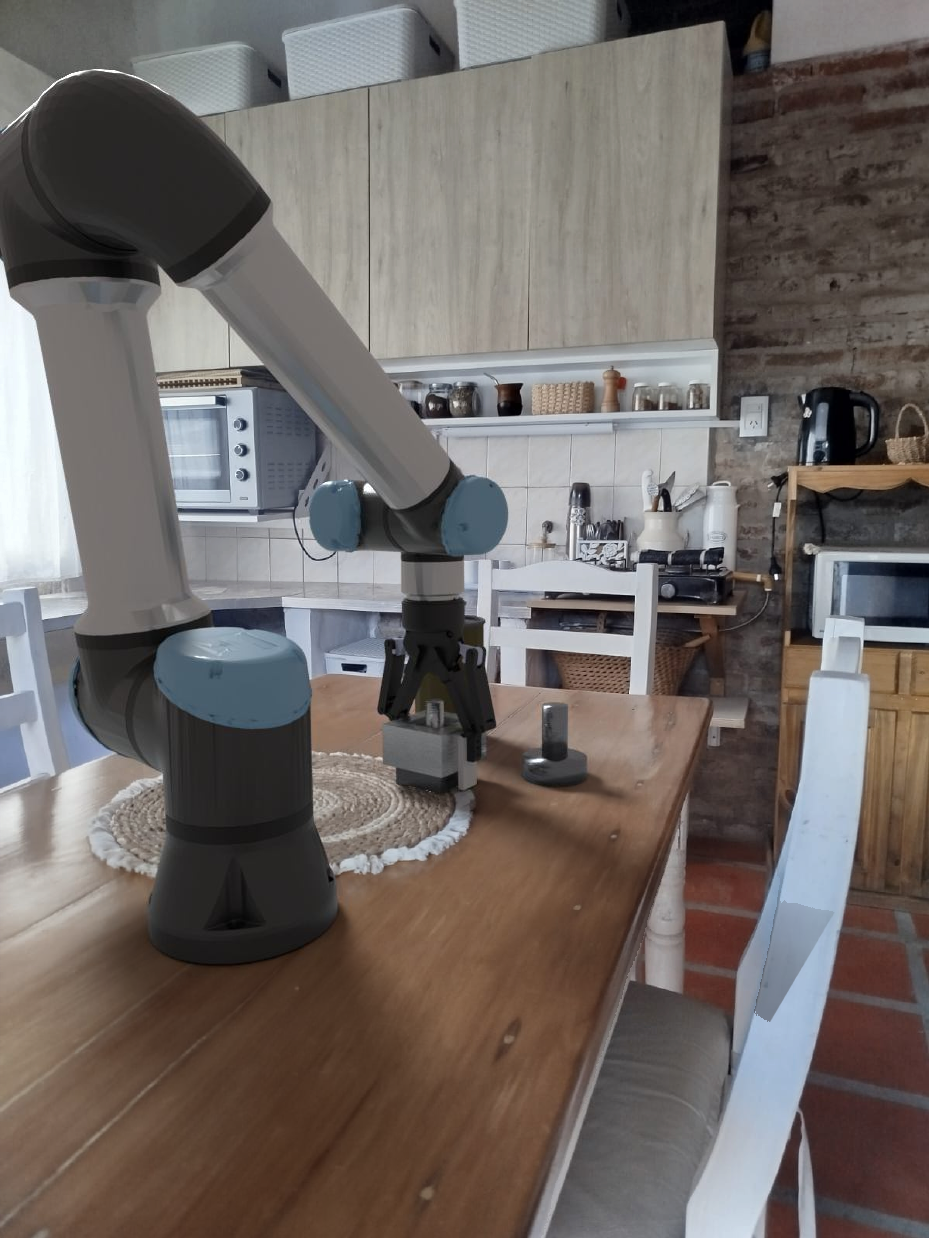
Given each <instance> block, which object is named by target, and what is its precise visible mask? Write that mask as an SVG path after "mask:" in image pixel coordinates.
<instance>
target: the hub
mask: <svg viewBox="0 0 929 1238" xmlns="http://www.w3.org/2000/svg"><path fill="white" fill-rule="evenodd" d="M568 743H569V704H567V703H564V702H557V701H555V702H554V701H553V702H551V701H549V702H545V703H542V704H541V747H537V748H532V749H529V750H527V751H524V752H523V754H522V755H521V756H522V759H521V761H522V769H521V772H522V778H523V779H524V780H525V781H526V782H529V783H531V784H534V785H538V786H542V787H543V786H544V787H552V788H553V787H559V788H560V787H570V786H571V787H572V786H576V785H579V784H581V783H584V782H585V781H586V780H587V779H588V755H586V753H585V752H582V751H580V750H578V749H572V748H568V747H569V744H568Z"/></svg>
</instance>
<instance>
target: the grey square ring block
mask: <svg viewBox="0 0 929 1238" xmlns="http://www.w3.org/2000/svg"><path fill="white" fill-rule="evenodd" d="M381 728H382V729H381V730H382V731H381V733H382V735H381V736H382V741H381V742H382V765H385V766H389V767H393V768H395V767H397V768H401V769H405V770H410V771H414V772H418V773H423V774H427V775H431V776H436V777H440V778H443V777H446V776H448V775H450V774H452V773H455V772H457V771H458V736H459V735H460V734H463V733H464V732H463V729H462V726H461V724H460V721H459V719H458V716H457V714H454V713H449V712H444V727H443V728H440V729H435V728H430V727H426V710H424V711H421V712H418V713H415V712H414V713H412V714H411V715H410V714H409V716H405V717H402V718H399V719H396V720H393V721H390V720H389V721H387V722H384V723H382V724H381ZM481 744H482V747H481V748H482V756H481V759H480V760H478V761H477V763H479V762H481V761H484V760H486V759H487V732H484V733H482V736H481Z"/></svg>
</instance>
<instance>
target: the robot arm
mask: <svg viewBox="0 0 929 1238" xmlns="http://www.w3.org/2000/svg"><path fill="white" fill-rule="evenodd" d="M273 218H274V202H273V201H272V199H271V198H270V196H269V195H268V194H267V192H266V191H265V190H264V189H263V187H262V186H261V184H260V183H259V181H257V179H256V178H255V177H254V176H253V174H252V173H251V172H250V171H249V170H248V168H247V167H246V165H245V164H244V163H243V162H242V161H241V159H240V157H238V156H237V154H236V153H235V152H234V151H233V150H232V149H231V148H230V146H228V144H227V143H226V142H224V140H223V139H222V138H221V137H220V136H219V135H218V134H217V133H216V132H215V131H214V130H213V129H212V128H211V127H210V126H208V124H206V123H205V121H203V120H202V119H201V118H200V117H199V116H198V115H197V114H196V113H195V112H193V111H192V110H191V109H189V107H187V106H186V105H184V104H183V103H182V102H181V101H179V100H178V99H176V98H175V97H174V96H172V95H171V94H169V93H167V92H165V91H164V90H163V89H162V88H159V87H158V86H157V85H155V84H152V83H151V82H148V81H146V80H145V79H142V78H140V77H137V76H135V75H130V74H128V73H125V72H121V71H117V70H109V69H88V70H82V71H77V72H73V73H70V74H68V75H66V76H64V77H63V78H61V79H59V80H56V82H54V83H53V84H52V85H51V86H50V87H49V88H47V89H46V90H45V91H44V92H43V93H42V94H41V95H40V97H39V98H38V99H37V100H36V101H35V102H34V103H33V104H32V105H31V106H30V107H28V108H27V109H26V110H25V111H24V112H23V113H22V114H21V115H19V117H17V119H15V120H14V121H12V122H11V123H10V124H8V125H6V126H3V127H2V128H1V129H0V261H1V262H2V263H3V268H4V272H5V277H6V283H7V289H8V293H9V296H10V298H11V299H12V300H13V301H15V302H16V303H17V304H19V305H20V307H22V308H23V309H24V310H26V311H27V312H28V313H29V314H31V315H32V316H33V319H34V320H35V325H36V329H37V330H36V331H37V335H38V340H39V341H38V342H39V346H40V352H41V355H42V356H41V358H42V362H43V367H44V372H45V377H46V384H47V389H48V394H49V398H50V399H49V400H50V404H51V410H52V415H53V421H54V426H55V431H56V437H57V442H58V447H59V454H60V459H61V464H62V469H63V474H64V479H65V485H66V486H65V487H66V490H67V495H68V502H69V507H70V511H71V512H70V513H71V517H72V523H73V528H74V532H75V533H74V534H75V539H76V543H77V544H76V545H77V550H78V554H79V556H78V557H79V560H80V565H81V570H82V576H83V582H84V586H85V591H86V597H87V598H86V599H87V607H86V609H85V610H84V611H83V612H82V614H81V616H80V617H79V618H78V619H77V620H76V622H75V623H74V624H73V632H74V637H75V642H76V648H77V649H76V650H77V654H78V655H77V658H76V660H75V661H74V662H73V664H72V666H71V669H70V673H69V678H68V685H67V686H68V687H67V688H68V698H69V703H70V706H71V709H72V712H73V715H74V717H75V718H76V720H77V722H78V723H79V725H80V726H81V727H82V729H83V730H84V731H86V733H87V734H88V735H90V736H91V738H93V739H94V741H96V742H97V743H98V744H100V745H101V746H103V748H104V749H106V750H108V751H111V752H114V753H116V754H117V756H121V757H123V758H127V759H132V760H135V761H137V762H139V763H141V764H143V765H145V766H147V767H150V768H152V769H153V770H155V771H158V772H159V773H162V784H163V800H164V801H163V802H164V817H165V839H164V844H163V847H162V851H161V853H160V858H159V862H158V866H157V871H156V874H155V878H154V883H153V886H152V887H153V888H152V890H151V893H150V895H149V897H148V901H147V909H146V910H147V911H146V913H147V916H146V917H147V930H148V932H147V933H148V937H149V940H150V942H151V943H152V945H153V946H154V947H155V948H156V949H157V950H158V951H161V952H162V953H163V954H166V955H167V956H169V957H171V958H175V959H178V960H181V961H185V962H190V963H196V964H205V965H206V964H209V965H228V964H229V965H230V964H240V963H241V964H242V963H248V962H256V961H260V960H264V959H269V958H273V957H277V956H280V955H283V954H285V953H288V952H292V951H293V950H296V949H297V948H300V947H303V946H304V945H307V944H309V943H311V942H312V941H313V940H316V938H319V936H320V935H322V934H323V933H324V932H326V930H328V929H329V928H330V926H331V925H332V924H333V922H334V921H335V920H336V917H337V915H338V909H339V904H338V903H339V902H338V882H337V879H336V875H335V872H334V870H333V869H332V868H331V865H330V862H329V858H328V855H327V851H326V850H325V846H324V843H323V841H322V838H321V837H320V834H319V831H318V828H317V825H316V821H315V816H314V814H315V813H314V787H313V783H314V782H313V781H314V780H313V754H312V753H313V752H312V748H313V747H312V746H313V745H312V712H311V711H312V710H311V709H312V707H311V706H312V705H311V704H312V703H311V702H312V698H313V688H312V685H311V680H310V671H309V666H308V660H307V657H306V654H305V652H304V650H303V649H302V648H301V647H300V646H299V644H298V643H296V642H295V641H293V640H292V639H290V638H288V637H286V636H283V635H282V634H278V633H275V632H272V631H267V630H262V629H245V628H243V627H233V626H231V627H229V626H222V627H220V626H219V627H215V626H214V623H213V622H214V621H213V614H212V610H211V605H210V604H208V603H207V602H206V601H204V600H203V599H202V598H201V597H199V596H197V595H196V594H195V593H193V591H192V589H191V588H190V582H189V575H188V567H187V563H186V555H185V549H184V544H183V538H182V532H181V525H180V519H179V512H178V506H177V505H178V504H177V498H176V494H175V487H174V479H173V473H172V468H171V461H170V455H169V449H168V442H167V436H166V430H165V429H166V428H165V425H164V424H165V423H164V416H163V411H162V406H161V405H162V404H161V398H160V393H159V392H160V391H159V387H158V386H159V384H158V380H157V373H156V367H155V361H154V354H153V348H152V342H151V341H152V340H151V337H150V336H151V335H150V334H151V333H150V330H149V322H148V316H147V315H148V312H149V310H150V309H151V308H152V306H153V305H154V304H155V303H156V302H157V300H158V299H159V298H160V296H161V295H162V286H161V278H160V274H159V273H160V271H159V268H161V269H162V270H163V272H164V273H165V274H166V275H167V276H168V277H169V279H171V281H173V283H174V284H175V285H176V286H177V287H180V288H185V289H187V288H188V289H194V290H195V289H196V290H197V291H199V292H200V294H201V295H202V296H203V298H205V299H206V300H207V302H209V304H210V305H211V306H212V308H214V309H215V311H216V312H217V313H218V314H219V315H220V316H221V318H222V319H223V320H224V321H225V322H226V323H227V325H228V326H229V327H230V328H231V329H232V330H233V331H234V333H236V335H237V336H238V338H240V339H241V340H242V341H243V343H244V344H245V345H246V346H247V347H248V348H249V350H251V351H252V353H253V354H254V355H255V356H256V357H257V358H258V360H259V361H260V362H261V363H262V364H263V365H264V366H265V368H266V369H267V370H268V371H269V372H270V374H272V376H273V377H275V379H276V380H277V382H279V384H281V386H282V387H283V388H284V389H285V390H286V392H287V393H288V394H289V395H290V396H291V397H292V398H293V399H294V401H295V402H296V403H297V404H298V405H299V406H300V408H301V409H302V410H303V411H304V412H305V414H307V415H308V417H309V418H310V419H311V420H312V421H313V422H314V423H315V425H316V426H318V428H319V429H320V430H321V431H322V433H323V434H324V435H325V436H326V438H328V440H330V442H331V443H332V444H333V445H334V446H335V447H336V449H337V450H338V451H339V452H340V454H342V456H343V457H344V458H345V459H346V460H347V462H349V463H350V464H351V466H352V467H353V468H354V469H355V470H356V471H357V472H358V473H359V475H360V477H362V478H363V479H364V480H353V479H343V480H330V481H326V482H323V483H321V484H320V485H319V486H318V487H317V488H316V490H315V491H314V493H313V494H312V496H311V499H310V502H309V506H308V512H309V520H308V522H309V526H310V531H311V533H312V534H311V535H313V537H314V540H315V541H316V543H317V544H318V545H319V546H320V547H321V548H323V549H325V550H326V551H329V552H345V553H350V554H351V553H354V552H358V551H359V552H362V551H364V552H365V551H369V552H370V551H371V552H373V551H374V552H375V551H376V552H388V553H389V552H390V553H393V552H394V553H400V592H401V593H402V594H403V595H405V596H406V597H405V598H403V600H401V626H402V628H403V629H404V630H405V633H404V637H403V636H395V637H392V638H387V639H385V640H384V642H383V644H384V654H385V656H384V657H385V658H384V665H383V672H382V677H381V685H380V690H379V696H378V702H377V703H378V704H377V708H376V710H377V714H379V715H380V716H382V715H384V716H385V717H387V718H388V720H389V722H390V721H393V720H396V719H399V718H402V717H405V716H409V715H412V714H411V713H410V711H411V708H412V706H413V704H414V703H415V697H416V695H417V692H418V690H419V687H420V685H421V683H422V680H423V678H424V676H425V675H426V674H427V673H431V674H433V675H437V676H439V679H440V681H441V682H442V683H443V684H445V686H446V689H447V691H448V694H449V696H450V699H451V701H452V704H453V706H454V709H455V711H456V714H457V716H458V719H459V721H460V724H461V726H462V729H463V732H464V733H463V734H460V735H459V736H458V790H461V791H465V790H467V789H469V788H471V787H474V786H476V785H477V782H478V781H477V778H478V777H477V775H478V774H477V773H478V771H477V769H478V768H477V767H478V765H477V763H478V762H477V761H478V760H480V759H481V756H482V748H481V747H482V744H481V736H482V733H484V732H486V733H487V732H488V731H491V730H494V729H496V727H497V719H496V713H495V709H494V705H493V699H492V695H491V689H490V684H489V679H488V678H489V677H488V673H487V668H486V661H487V660H486V659H487V648H486V647H485V645H484V646H478V647H473V646H469V645H466V644H465V641H464V639H463V636H462V632H463V628H464V626H465V615H466V612H465V611H466V609H465V607H466V605H465V601H466V600H464V598H463V597H461V596H460V595H462V594H463V593H464V592H465V556H479V555H480V556H481V555H484V554H488V553H489V552H491V551H493V550H494V549H496V547H498V545H499V544H500V542H501V541H502V540H503V537H504V536H505V534H506V530H507V528H508V523H509V508H508V507H509V506H508V501H507V498H506V495H505V493H504V492H503V490H502V488H501V487H500V486H499V484H498V483H497V482H495V481H493V480H491V479H490V478H488V477H483V476H477V475H476V474H470V475H466V476H465V475H464V474H463V472H462V470H461V468H460V467H458V466H457V465H456V463H455V462H454V461H453V460H452V459H451V457H450V455H449V454H448V453H447V452H446V451H445V449H444V448H443V446H442V445H441V444H440V442H439V441H438V439H436V437H435V436H434V435H433V433H432V432H431V431H430V429H429V428H428V427H427V425H426V424H425V423H424V421H423V420H422V419H421V418H420V416H419V415H418V414H417V412H416V411H415V409H414V408H413V407H412V406H411V404H410V403H409V402H408V401H407V399H406V397H405V396H404V395H403V394H402V393H401V391H400V389H398V387H397V386H396V385H395V383H394V382H393V380H391V378H390V376H389V375H388V374H387V372H385V370H384V369H383V367H382V366H381V364H380V363H379V362H378V361H377V360H376V358H375V357H374V355H373V354H372V353H371V352H370V350H369V349H368V348H367V346H366V345H365V344H364V342H363V341H362V340H361V338H360V337H359V335H358V334H356V331H354V329H353V328H352V326H351V325H350V324H349V323H348V322H347V320H346V318H345V317H344V316H343V315H342V314H341V312H340V311H339V309H338V308H337V307H336V306H335V304H334V303H333V302H332V301H331V299H330V297H328V295H327V294H326V293H325V291H324V290H323V288H322V287H321V286H320V284H319V283H318V282H317V281H316V279H315V278H314V276H313V275H312V274H311V273H310V271H309V270H308V269H307V267H306V266H305V264H304V263H303V262H302V261H301V260H300V258H299V256H298V255H297V254H296V252H294V250H293V249H292V247H291V246H290V244H288V242H287V241H286V239H285V238H284V237H283V236H282V234H281V233H280V232H279V231H278V229H277V228H276V226H275V225H274V221H273V220H274V219H273ZM406 653H407V656H408V659H407V662H405V660H406ZM462 656H463V659H462V662H463V663H465V672H466V678H467V683H468V686H467V684H466V681H465V679H464V676H465V672H464V669H463V667H462V664H461V662H460V658H461V657H462ZM405 663H406V664H405ZM452 670H453V673H450V672H451V671H452ZM403 675H404V676H403ZM468 688H469V689H468ZM394 768H395V771H396V767H394Z"/></svg>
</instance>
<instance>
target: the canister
mask: <svg viewBox="0 0 929 1238" xmlns="http://www.w3.org/2000/svg"><path fill="white" fill-rule="evenodd" d="M464 601H465V606H467V605H468V602H467V601H466V600H464ZM486 623H487V622H486V618H483V617H482V616H475V615H469V614H468V615H467V614H465V626H464V628H463V632H462V636H463V639H464V641H465V644H466V645H469V646H473V647H478V646H484V647H485V645H484V643H485V641H484V638H485V637H484V636H485V635H484V633H485V632H484V631H485V630H484V629H485V628H484V626H485V624H486ZM462 659H463V656H462V657H461V658H460V662H461V664H462V667H463V669H464V672H465V663H463V662H462ZM450 673H453V670H452V671H451V672H450ZM464 679H465V681H466V684H467V686H468V683H467V678H466V672H465V676H464ZM468 689H469V688H468ZM431 699H439V700H443V701H444V712H449V713H454V714H456V711H455V709H454V706H453V704H452V701H451V699H450V696H449V694H448V691H447V689H446V686H445V684H443V683H442V682H441V681H440V679H439V676H437V675H433V674H431V673H427V674H426V675H425V676H424V678H423V680H422V683H421V685H420V687H419V690H418V692H417V695H416V697H415V699H414V714H415V713H418V712H421V711H424V710H426V708H425V701H427V700H431Z"/></svg>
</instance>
